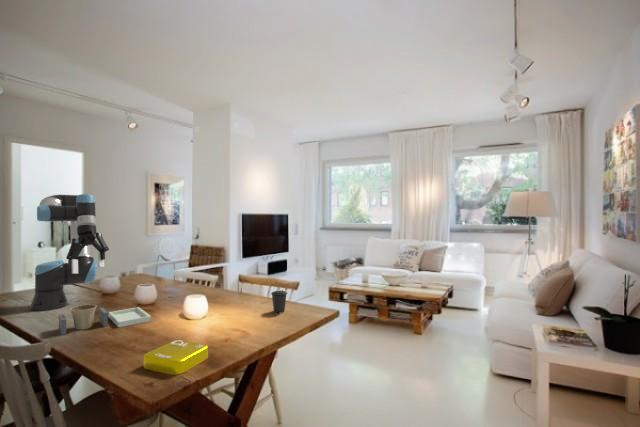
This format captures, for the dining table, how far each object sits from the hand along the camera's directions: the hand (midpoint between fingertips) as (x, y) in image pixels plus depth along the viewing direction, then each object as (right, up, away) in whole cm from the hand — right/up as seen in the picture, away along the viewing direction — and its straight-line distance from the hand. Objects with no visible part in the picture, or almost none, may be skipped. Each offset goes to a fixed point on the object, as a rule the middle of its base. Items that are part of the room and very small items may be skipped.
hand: (88, 270), depth 157 cm
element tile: (+60, -23, -45) cm, 78 cm away
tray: (+19, -22, 0) cm, 29 cm away
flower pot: (+6, -23, -11) cm, 26 cm away
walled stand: (+6, -22, -11) cm, 26 cm away
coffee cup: (+86, -23, +13) cm, 90 cm away
